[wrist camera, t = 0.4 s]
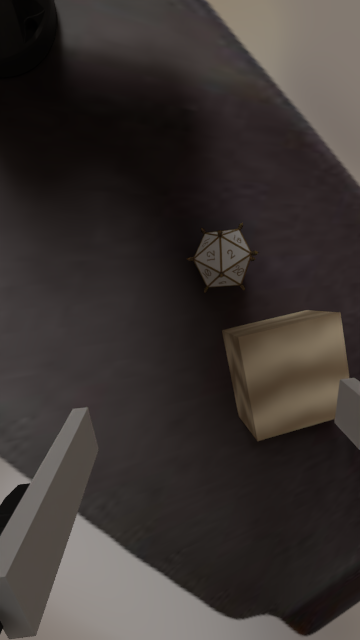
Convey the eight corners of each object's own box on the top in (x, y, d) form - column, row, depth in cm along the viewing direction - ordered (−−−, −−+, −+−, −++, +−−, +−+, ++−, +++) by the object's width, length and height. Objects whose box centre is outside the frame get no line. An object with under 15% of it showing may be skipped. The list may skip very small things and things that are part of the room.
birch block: (221, 330, 37) (238, 337, 30) (305, 310, 38) (340, 312, 31) (238, 415, 38) (257, 441, 32) (318, 393, 40) (354, 413, 33)
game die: (219, 261, 39) (280, 250, 32) (201, 305, 37) (264, 304, 29) (186, 219, 34) (252, 195, 27) (162, 268, 31) (228, 255, 24)
